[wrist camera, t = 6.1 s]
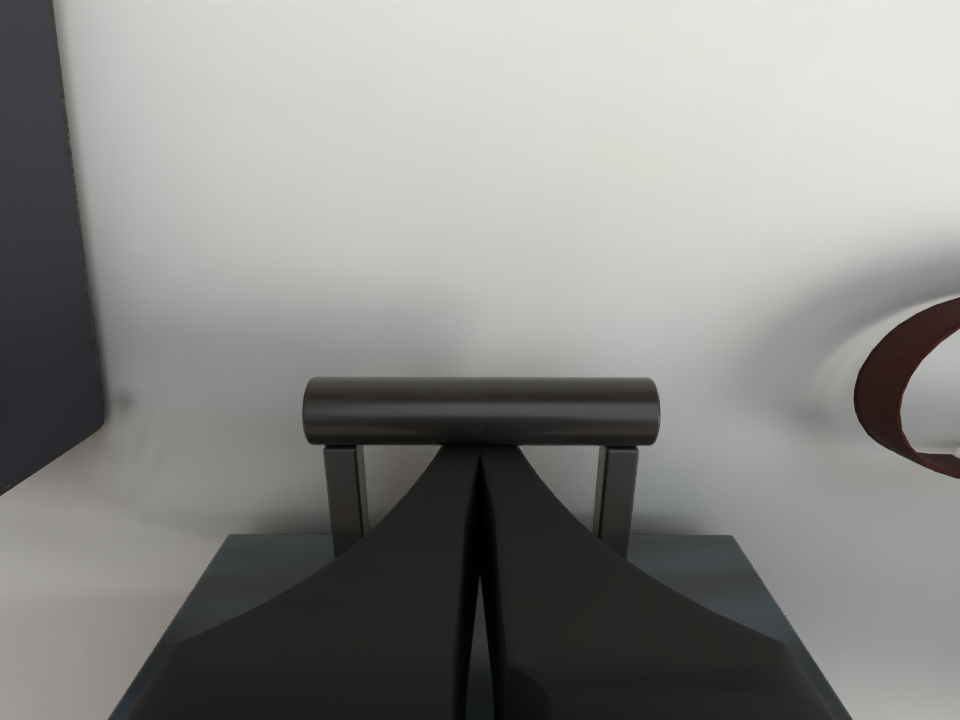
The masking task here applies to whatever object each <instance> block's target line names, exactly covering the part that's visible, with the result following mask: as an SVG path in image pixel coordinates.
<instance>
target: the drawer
mask: <svg viewBox="0 0 960 720" xmlns="http://www.w3.org/2000/svg"><path fill="white" fill-rule="evenodd" d="M302 418H303V428H304V433H305V437H306V439H307V441H308V443H310V444H312V445H326V446H325V447H324V450H323V453H324V463H325V472H326V482H327V491H328V501H329V510H330V520H331V529H332V534H230V535H228V536H227V538H226V540H225V541H224V543H223V544H222V546H221V547H220V549H219V550H218V552H217V553H216V555H215V556H214V558H213V559H212V561H211V562H210V564H209V566H208V567H207V569H206V570H205V572H204V573H203V575H202V576H201V578H200V579H199V581H198V582H197V584H196V585H195V587H194V588H193V590H192V591H191V593H190V595H189V596H188V598H187V599H186V601H185V602H184V604H183V605H182V607H181V608H180V610H179V611H178V613H177V614H176V616H175V617H174V619H173V621H172V622H171V624H170V625H169V627H168V628H167V630H166V631H165V633H164V634H163V636H162V637H161V639H160V640H159V642H158V643H157V645H156V647H155V648H154V650H153V651H152V653H151V654H150V656H149V657H148V659H147V660H146V662H145V663H144V665H143V666H142V668H141V669H140V671H139V673H138V674H137V676H136V677H135V679H134V680H133V682H132V683H131V685H130V686H129V688H128V689H127V691H126V692H125V694H124V695H123V697H122V698H121V700H120V702H119V703H118V705H117V706H116V708H115V709H114V711H113V712H112V714H111V715H110V717H109V718H108V720H124V719H125V717H126V716H127V714H128V712H129V711H130V709H131V707H132V706H133V704H134V703H135V701H136V700H137V698H138V696H139V695H140V693H141V692H142V690H143V689H144V687H145V686H146V684H147V683H148V681H149V680H150V678H151V677H152V676H153V674H154V673H155V672H156V670H157V669H158V668H159V666H160V665H161V664H162V662H163V661H164V660H165V658H166V657H167V656H168V654H169V653H170V652H171V650H172V649H173V647H174V646H175V645H176V644H177V643H179V642H181V641H184V640H186V639H189V638H191V637H193V636H195V635H198V634H200V633H202V632H204V631H206V630H208V629H211V628H213V627H215V626H217V625H219V624H221V623H224V622H226V621H228V620H230V619H232V618H234V617H237V616H239V615H241V614H243V613H245V612H247V611H249V610H251V609H253V608H255V607H257V606H259V605H261V604H263V603H265V602H266V601H268V600H270V599H272V598H274V597H275V596H277V595H279V594H281V593H283V592H284V591H286V590H288V589H290V588H291V587H293V586H295V585H296V584H298V583H300V582H301V581H303V580H305V579H306V578H308V577H309V576H311V575H313V574H314V573H316V572H317V571H318V570H320V569H321V568H323V567H324V566H325V565H327V564H328V563H330V562H331V561H333V560H334V559H335V558H337V557H338V556H340V555H341V554H342V553H344V552H345V551H347V550H348V549H350V548H351V547H352V546H353V545H355V544H356V543H357V542H358V541H359V540H361V539H362V538H363V537H364V536H365V535H366V534H368V533H369V532H370V531H369V518H368V505H367V492H366V479H365V466H364V454H363V445H518V446H600V447H599V459H598V471H597V483H596V495H595V507H594V519H593V531H592V533H593V534H594V535H595V536H596V537H597V538H599V539H600V540H601V541H602V542H603V543H605V544H606V545H607V546H608V547H610V548H611V549H612V550H614V551H615V552H616V553H618V554H619V555H620V556H622V557H623V558H624V559H626V560H627V561H629V562H630V563H632V564H633V565H635V566H636V567H638V568H639V569H641V570H642V571H644V572H645V573H647V574H648V575H650V576H651V577H653V578H654V579H656V580H658V581H659V582H661V583H663V584H664V585H666V586H668V587H669V588H671V589H673V590H674V591H676V592H678V593H680V594H682V595H684V596H685V597H687V598H689V599H691V600H693V601H695V602H696V603H698V604H700V605H702V606H704V607H706V608H708V609H709V610H711V611H713V612H715V613H718V614H720V615H722V616H724V617H726V618H729V619H731V620H733V621H735V622H738V623H740V624H742V625H744V626H746V627H749V628H751V629H753V630H755V631H758V632H760V633H762V634H764V635H766V636H769V637H771V638H773V639H775V640H778V641H780V642H782V643H784V645H785V646H786V647H787V649H788V650H789V652H790V653H791V654H792V656H793V657H794V659H795V660H796V661H797V663H798V664H799V665H800V667H801V668H802V669H803V671H804V672H805V673H806V674H807V676H808V677H809V678H810V680H811V681H812V683H813V684H814V686H815V688H816V689H817V691H818V692H819V694H820V695H821V697H822V698H823V700H824V701H825V703H826V705H827V706H828V708H829V710H830V711H831V713H832V714H833V716H834V718H835V719H836V720H853V719H852V718H851V716H850V715H849V713H848V712H847V710H846V708H845V707H844V705H843V704H842V702H841V701H840V699H839V698H838V696H837V695H836V693H835V692H834V690H833V689H832V687H831V686H830V684H829V682H828V681H827V679H826V678H825V676H824V675H823V673H822V672H821V670H820V669H819V667H818V666H817V664H816V663H815V661H814V660H813V658H812V656H811V655H810V653H809V652H808V650H807V649H806V647H805V646H804V644H803V643H802V641H801V640H800V638H799V637H798V635H797V634H796V632H795V630H794V629H793V627H792V626H791V624H790V623H789V621H788V620H787V618H786V617H785V615H784V614H783V612H782V611H781V609H780V608H779V606H778V604H777V603H776V601H775V600H774V598H773V597H772V595H771V594H770V592H769V591H768V589H767V588H766V586H765V585H764V583H763V582H762V580H761V578H760V577H759V575H758V574H757V572H756V571H755V569H754V568H753V566H752V565H751V563H750V562H749V560H748V559H747V557H746V556H745V554H744V552H743V551H742V549H741V548H740V546H739V545H738V543H737V542H736V540H735V539H734V537H733V536H731V535H630V528H631V519H632V510H633V501H634V492H635V483H636V474H637V465H638V456H639V450H638V448H637V446H650V445H652V444H654V443H655V441H656V439H657V436H658V432H659V427H660V401H659V395H658V391H657V388H656V385H655V383H654V381H653V380H652V379H650V378H581V377H314V378H311V379H310V380H309V382H308V384H307V387H306V390H305V394H304V399H303V409H302ZM466 720H494V709H493V693H492V679H491V670H490V661H489V652H488V643H487V634H486V625H485V615H484V606H483V597H482V588H481V578H479V587H478V596H477V606H476V615H475V624H474V633H473V642H472V652H471V661H470V670H469V679H468V692H467V707H466Z"/></svg>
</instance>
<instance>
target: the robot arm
mask: <svg viewBox="0 0 960 720" xmlns="http://www.w3.org/2000/svg"><path fill="white" fill-rule="evenodd" d="M479 578H481V588H482V597H483V606H484V615H485V625H486V634H487V643H488V652H489V661H490V670H491V679H492V693H493V709H494V720H836V719H835V718H834V716H833V714H832V713H831V711H830V710H829V708H828V706H827V705H826V703H825V701H824V700H823V698H822V697H821V695H820V694H819V692H818V691H817V689H816V688H815V686H814V684H813V683H812V681H811V680H810V678H809V677H808V676H807V674H806V673H805V672H804V671H803V669H802V668H801V667H800V665H799V664H798V663H797V661H796V660H795V659H794V657H793V656H792V654H791V653H790V652H789V650H788V649H787V647H786V646H785V645H784V643H782V642H780V641H778V640H775V639H773V638H771V637H769V636H766V635H764V634H762V633H760V632H758V631H755V630H753V629H751V628H749V627H746V626H744V625H742V624H740V623H738V622H735V621H733V620H731V619H729V618H726V617H724V616H722V615H720V614H718V613H715V612H713V611H711V610H709V609H708V608H706V607H704V606H702V605H700V604H698V603H696V602H695V601H693V600H691V599H689V598H687V597H685V596H684V595H682V594H680V593H678V592H676V591H674V590H673V589H671V588H669V587H668V586H666V585H664V584H663V583H661V582H659V581H658V580H656V579H654V578H653V577H651V576H650V575H648V574H647V573H645V572H644V571H642V570H641V569H639V568H638V567H636V566H635V565H633V564H632V563H630V562H629V561H627V560H626V559H624V558H623V557H622V556H620V555H619V554H618V553H616V552H615V551H614V550H612V549H611V548H610V547H608V546H607V545H606V544H605V543H603V542H602V541H601V540H600V539H599V538H597V537H596V536H595V535H594V534H593V533H591V532H590V531H589V530H588V529H587V528H585V527H584V526H583V525H582V524H581V523H580V522H579V521H578V520H577V519H576V518H575V517H574V516H573V515H572V514H571V513H570V512H569V511H568V510H567V509H566V508H565V507H564V505H563V504H562V503H561V502H560V501H559V500H558V499H557V498H556V497H555V495H554V494H553V493H552V492H551V491H550V489H549V488H548V487H547V486H546V484H545V483H544V482H543V481H542V480H541V478H540V477H539V476H538V474H537V473H536V472H535V470H534V469H533V468H532V466H531V465H530V463H529V462H528V461H527V459H526V458H525V456H524V455H523V453H522V451H521V450H520V448H519V446H518V445H442V446H441V448H440V449H439V451H438V453H437V454H436V456H435V457H434V459H433V460H432V462H431V463H430V464H429V466H428V467H427V469H426V470H425V471H424V473H423V474H422V475H421V476H420V478H419V479H418V480H417V482H416V483H415V484H414V485H413V487H412V488H411V489H410V490H409V491H408V493H407V494H406V495H405V496H404V497H403V498H402V499H401V500H400V501H399V503H398V504H397V505H396V506H395V507H394V508H393V509H392V510H391V511H390V512H389V513H388V514H387V515H386V516H385V517H384V518H383V519H382V520H381V521H380V522H379V523H378V524H377V525H376V526H375V527H374V528H373V529H372V530H371V531H370V532H369V533H368V534H366V535H365V536H364V537H363V538H362V539H361V540H359V541H358V542H357V543H356V544H355V545H353V546H352V547H351V548H350V549H348V550H347V551H345V552H344V553H342V554H341V555H340V556H338V557H337V558H335V559H334V560H333V561H331V562H330V563H328V564H327V565H325V566H324V567H323V568H321V569H320V570H318V571H317V572H316V573H314V574H313V575H311V576H309V577H308V578H306V579H305V580H303V581H301V582H300V583H298V584H296V585H295V586H293V587H291V588H290V589H288V590H286V591H284V592H283V593H281V594H279V595H277V596H275V597H274V598H272V599H270V600H268V601H266V602H265V603H263V604H261V605H259V606H257V607H255V608H253V609H251V610H249V611H247V612H245V613H243V614H241V615H239V616H237V617H234V618H232V619H230V620H228V621H226V622H224V623H221V624H219V625H217V626H215V627H213V628H211V629H208V630H206V631H204V632H202V633H200V634H198V635H195V636H193V637H191V638H189V639H186V640H184V641H181V642H179V643H177V644H176V645H175V646H174V647H173V649H172V650H171V652H170V653H169V654H168V656H167V657H166V658H165V660H164V661H163V662H162V664H161V665H160V666H159V668H158V669H157V670H156V672H155V673H154V674H153V676H152V677H151V678H150V680H149V681H148V683H147V684H146V686H145V687H144V689H143V690H142V692H141V693H140V695H139V696H138V698H137V700H136V701H135V703H134V704H133V706H132V707H131V709H130V711H129V712H128V714H127V716H126V717H125V719H124V720H466V707H467V692H468V679H469V670H470V661H471V652H472V642H473V633H474V624H475V615H476V606H477V596H478V587H479Z"/></svg>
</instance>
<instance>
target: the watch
mask: <svg viewBox="0 0 960 720" xmlns="http://www.w3.org/2000/svg"><path fill="white" fill-rule="evenodd" d="M958 329H960V297H959V298H956V299H953V300H950V301H947V302H943V303H940V304H937V305H934V306H932V307H930V308H928V309H926V310H924V311H921V312H919V313H917V314H915V315H914V316H912V317H910V318H909V319H907V320H906V321H904V322H902V323H901V324H899V325H898V326H896V327H895V328H894V329H893V330H891V331H890V332H889V333H888V334H887V335H886V336H885V337H884V338H883V339H882V340H881V341H880V342H879V343H878V345H877V346H876V347H875V348H874V349H873V350H872V351H871V353H870V354H869V356H868V357H867V359H866V361H865V362H864V364H863V365H862V367H861V369H860V371H859V373H858V377H857V380H856V384H855V389H854V407H855V412H856V415H857V417H858V420H859V422H860V423H861V425H862V426H863V428H864V429H865V431H866V432H867V434H868V435H869V436H870V437H871V438H873V439H874V440H875V441H876V442H877V443H879V444H881V445H882V446H884V447H886V448H887V449H889V450H891V451H894V452H895V453H897V454H899V455H901V456H903V457H905V458H907V459H909V460H911V461H913V462H915V463H918V464H920V465H922V466H924V467H926V468H929V469H931V470H933V471H935V472H938V473H941V474H945V475H948V476H951V477H954V478H958V479H960V447H959V448H958V449H957V450H956V452H955V454H954V455H952V454H926V453H918V452H916V451H915V450H914V449H913V448H912V447H911V446H910V444H909V442H908V440H907V438H906V436H905V435H904V433H903V431H902V424H901V416H900V409H901V403H902V396H903V393H904V391H905V389H906V387H907V384H908V382H909V380H910V378H911V376H912V374H913V373H914V371H915V370H916V369H917V367H918V366H919V364H920V363H921V361H922V360H923V359H924V358H925V357H926V356H927V355H928V354H929V353H930V352H931V351H932V350H933V349H934V348H935V347H936V346H937V345H938V344H940V343H941V342H942V341H943V340H945V339H946V338H947V337H949V336H950V335H952V334H953V333H954V332H956V331H957V330H958Z"/></svg>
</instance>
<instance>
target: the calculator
mask: <svg viewBox="0 0 960 720" xmlns="http://www.w3.org/2000/svg"><path fill="white" fill-rule="evenodd" d="M103 423H104V408H103V400H102V392H101V384H100V376H99V368H98V360H97V352H96V344H95V336H94V329H93V321H92V313H91V305H90V297H89V289H88V281H87V273H86V265H85V257H84V249H83V241H82V233H81V225H80V217H79V209H78V201H77V193H76V186H75V178H74V170H73V162H72V154H71V146H70V138H69V130H68V122H67V114H66V106H65V98H64V90H63V82H62V74H61V66H60V58H59V50H58V42H57V35H56V27H55V19H54V11H53V3H52V0H0V496H1V495H2V494H4V493H5V492H7V491H9V490H10V489H12V488H13V487H15V486H16V485H18V484H19V483H21V482H22V481H24V480H25V479H27V478H28V477H30V476H31V475H33V474H34V473H36V472H37V471H38V470H40V469H41V468H43V467H44V466H46V465H47V464H49V463H50V462H52V461H53V460H55V459H56V458H58V457H59V456H61V455H62V454H64V453H65V452H67V451H68V450H70V449H71V448H73V447H74V446H76V445H77V444H79V443H80V442H82V441H83V440H85V439H86V438H87V437H89V436H90V435H92V434H93V433H95V432H96V431H97V430H99V429H100V428H101V427H102V425H103Z"/></svg>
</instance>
